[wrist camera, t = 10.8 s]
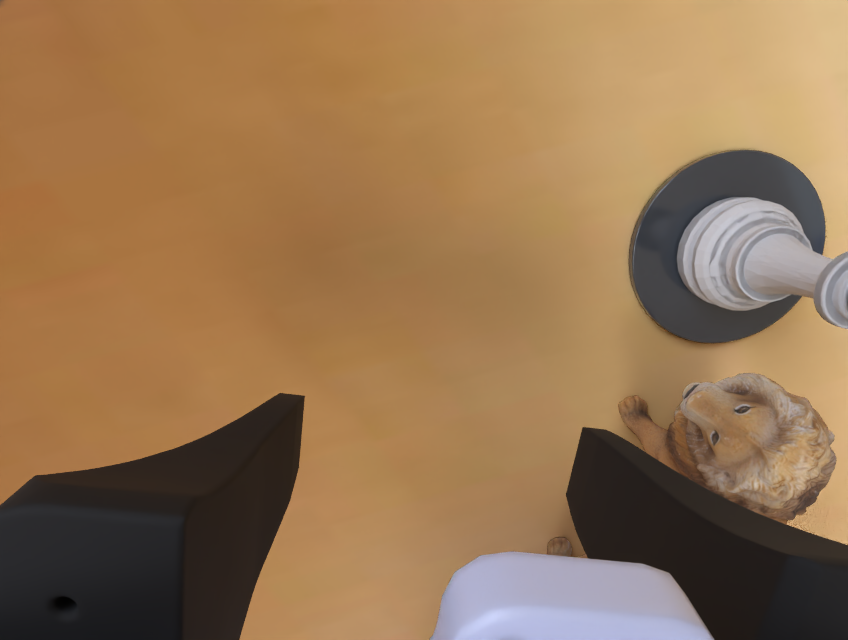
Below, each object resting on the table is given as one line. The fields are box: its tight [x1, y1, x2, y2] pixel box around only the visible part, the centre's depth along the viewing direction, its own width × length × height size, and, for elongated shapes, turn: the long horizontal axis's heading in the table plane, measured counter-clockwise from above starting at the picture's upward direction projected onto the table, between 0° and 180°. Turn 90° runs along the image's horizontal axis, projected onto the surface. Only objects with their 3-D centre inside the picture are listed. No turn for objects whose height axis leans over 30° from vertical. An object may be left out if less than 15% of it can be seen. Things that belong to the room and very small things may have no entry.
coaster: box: [629, 150, 825, 343], centre depth 22 cm, size 8×8×1 cm
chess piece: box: [677, 197, 848, 329], centre depth 17 cm, size 4×4×10 cm
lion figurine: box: [547, 373, 836, 558], centre depth 21 cm, size 15×5×9 cm, turn 168°
